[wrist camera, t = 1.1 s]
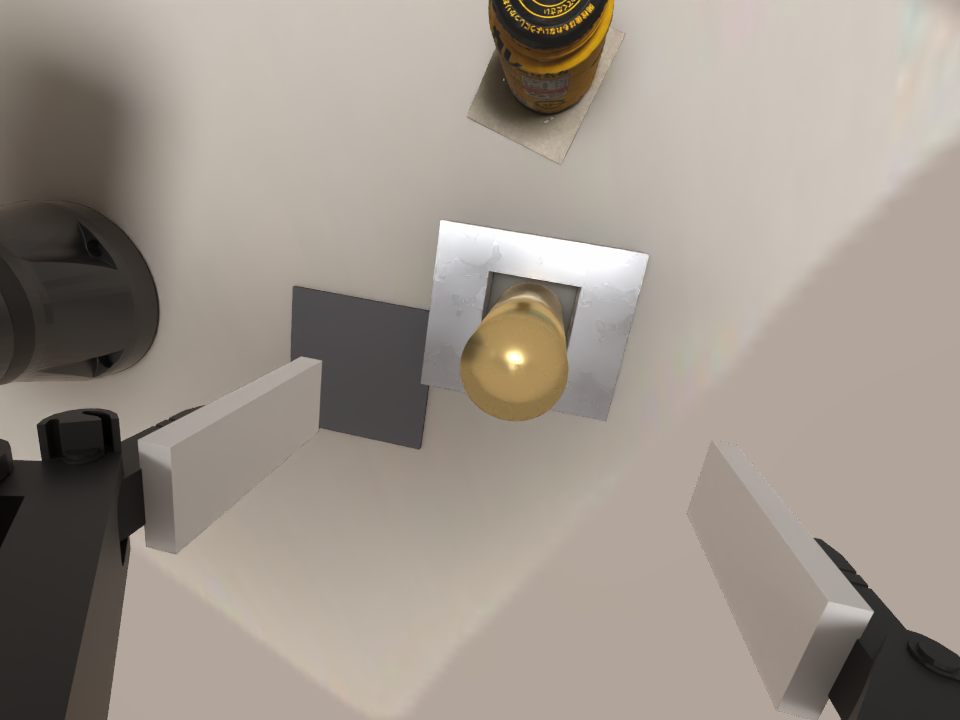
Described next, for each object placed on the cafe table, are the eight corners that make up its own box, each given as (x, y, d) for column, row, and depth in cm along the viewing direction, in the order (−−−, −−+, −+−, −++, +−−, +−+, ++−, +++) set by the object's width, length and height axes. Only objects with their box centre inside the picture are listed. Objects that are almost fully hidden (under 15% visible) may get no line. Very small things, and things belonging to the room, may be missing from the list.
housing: (430, 371, 38) (420, 383, 35) (450, 220, 34) (440, 220, 31) (601, 405, 36) (606, 421, 34) (640, 252, 33) (649, 254, 30)
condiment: (625, 35, 29) (669, -85, 18) (560, 164, 32) (564, 131, 21) (523, -17, 30) (504, -168, 18) (467, 117, 32) (420, 58, 21)
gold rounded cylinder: (489, 342, 36) (453, 409, 23) (500, 276, 35) (468, 308, 22) (555, 354, 36) (556, 430, 23) (569, 288, 34) (579, 328, 21)
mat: (291, 419, 41) (288, 421, 41) (295, 285, 38) (292, 286, 37) (421, 447, 40) (419, 449, 40) (438, 312, 36) (437, 313, 36)
